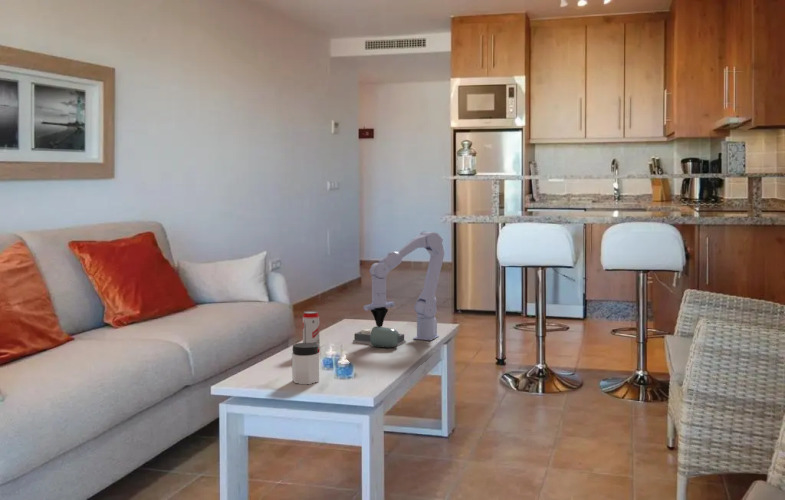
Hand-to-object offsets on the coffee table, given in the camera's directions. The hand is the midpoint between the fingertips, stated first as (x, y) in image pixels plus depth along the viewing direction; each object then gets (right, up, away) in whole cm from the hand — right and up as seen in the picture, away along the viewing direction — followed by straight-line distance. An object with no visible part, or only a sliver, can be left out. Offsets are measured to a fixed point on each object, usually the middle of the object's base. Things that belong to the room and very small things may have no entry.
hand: (379, 326), depth 316 cm
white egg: (-6, -5, +3) cm, 8 cm away
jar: (-23, -12, -61) cm, 67 cm away
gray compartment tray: (0, -6, +1) cm, 7 cm away
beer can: (-25, -9, -21) cm, 34 cm away
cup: (+7, -4, -11) cm, 14 cm away
